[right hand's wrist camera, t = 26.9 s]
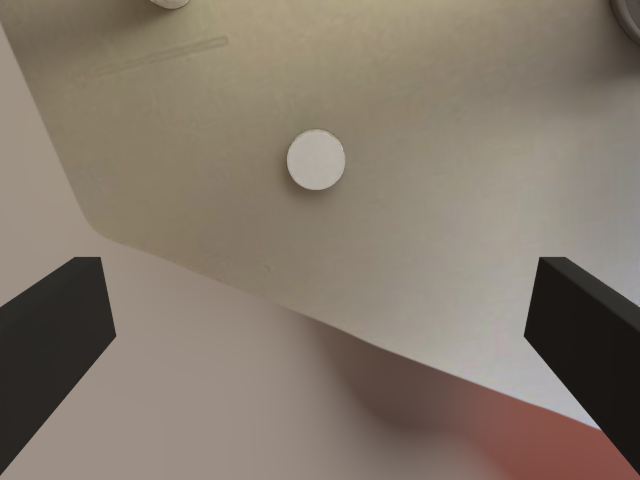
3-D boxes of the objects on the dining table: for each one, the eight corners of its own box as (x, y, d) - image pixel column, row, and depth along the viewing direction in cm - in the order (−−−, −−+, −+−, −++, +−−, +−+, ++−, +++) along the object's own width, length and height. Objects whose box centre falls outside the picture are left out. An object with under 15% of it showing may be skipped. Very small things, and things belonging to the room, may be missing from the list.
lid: (341, 187, 40) (343, 192, 38) (286, 183, 40) (284, 188, 38) (347, 130, 38) (348, 133, 36) (289, 126, 38) (287, 128, 36)
